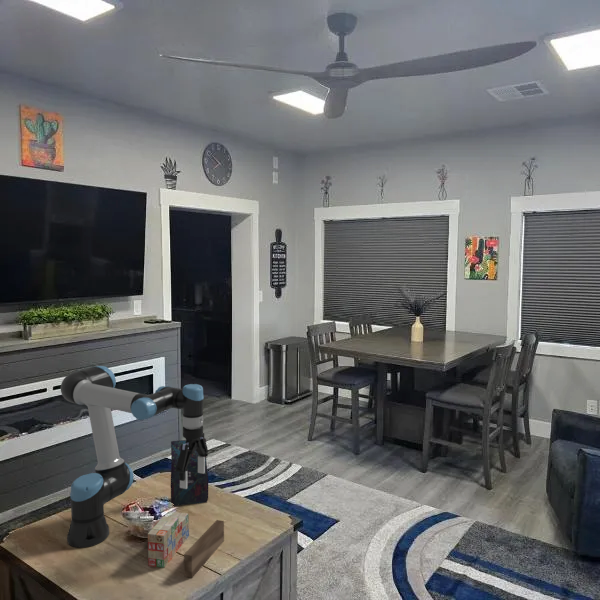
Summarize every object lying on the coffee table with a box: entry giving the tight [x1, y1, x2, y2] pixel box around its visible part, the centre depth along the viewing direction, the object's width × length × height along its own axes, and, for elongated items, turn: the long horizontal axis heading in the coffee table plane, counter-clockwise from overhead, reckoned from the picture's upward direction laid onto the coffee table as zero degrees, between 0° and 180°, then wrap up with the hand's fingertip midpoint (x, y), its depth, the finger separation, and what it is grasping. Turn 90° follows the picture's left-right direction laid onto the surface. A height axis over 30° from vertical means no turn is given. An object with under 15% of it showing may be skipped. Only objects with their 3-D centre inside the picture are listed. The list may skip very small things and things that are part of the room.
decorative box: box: [170, 438, 209, 507], centre depth 228 cm, size 8×16×28 cm, turn 104°
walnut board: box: [183, 519, 225, 579], centre depth 186 cm, size 3×24×8 cm, turn 162°
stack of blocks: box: [147, 511, 190, 569], centre depth 190 cm, size 21×6×12 cm, turn 168°
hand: (192, 480), depth 193 cm, fingers open, 13 cm apart
